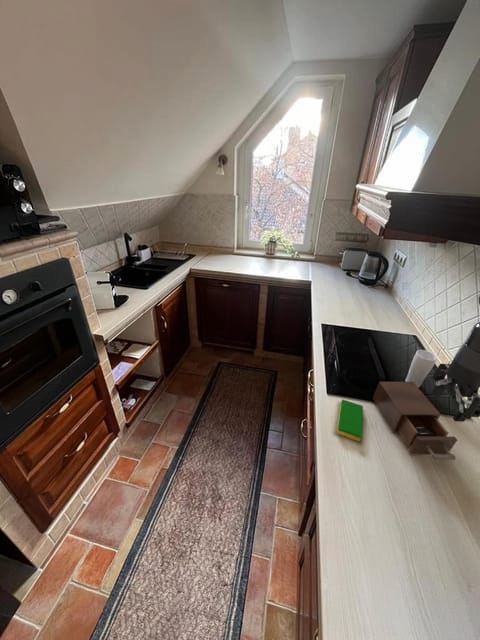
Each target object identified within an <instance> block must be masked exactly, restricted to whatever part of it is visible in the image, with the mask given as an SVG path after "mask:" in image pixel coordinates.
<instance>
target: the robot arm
mask: <svg viewBox="0 0 480 640" xmlns="http://www.w3.org/2000/svg"><path fill="white" fill-rule="evenodd" d="M477 301H478V302H477V303H478V305H479V306H480V294H479V295H478V299H477ZM432 380H433V381H434V382H435V386H434V387H433V389H432V393H431V395H432V397H433V398H440V397H442V395H443V394H444V392H445V391H446V387H447V388H448V390H449V391H451V392H452V393H453V394H454V396H455V399H456V403H458V409H457V411H456V412H455V414H454V415H453V417H452V420H453V421H454V422H458V423H460V422H461V423H463V422H465V421H467V418H480V394H479V390H480V321H478V322H476V323H475V324H474V325H473V326H472V328H471V330H470V331H469V333H468V335H467V336H466V338H465V340H464V342H463V343H462V344H461V345H460V346H459V348H458V350H457V352H456V353H455V355H454V357H453V359H452V361H451V363H440V364H439V365H438V366H437V368H436V370H435V371H434V373H433V374H432ZM463 398H467V399H463ZM465 405H466V406H465Z"/></svg>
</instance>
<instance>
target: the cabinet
mask: <svg viewBox="0 0 480 640" xmlns="http://www.w3.org/2000/svg"><path fill="white" fill-rule="evenodd" d="M372 400H373V402H374V403H375V405H376V406H377V409H378V410H379V411H380V413H381V415H382V416H383V418H384V420H385V422H386V423H387V424H388V426H389V428H390V430H391V431H392V433H400V432H399V430H398V429H397V428H398V426H399V424H400V422H401V420H402V418H403V416H435V417H436V418H437V419H438V420H439V419H440V417H441V416H442V414H441V413H440V412H439V410H437V408H436V407H435V406H434V404H433V403H431V401H430V400H429V399H428V398H427V397H426V395H425V394H424V393H423V391H421V389H420V387H419V388H418V387H417V386H416V385H415V384H414V383H413V382H405V381H378V384H377V386H376V388H375V392H374V394H373V396H372Z"/></svg>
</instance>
